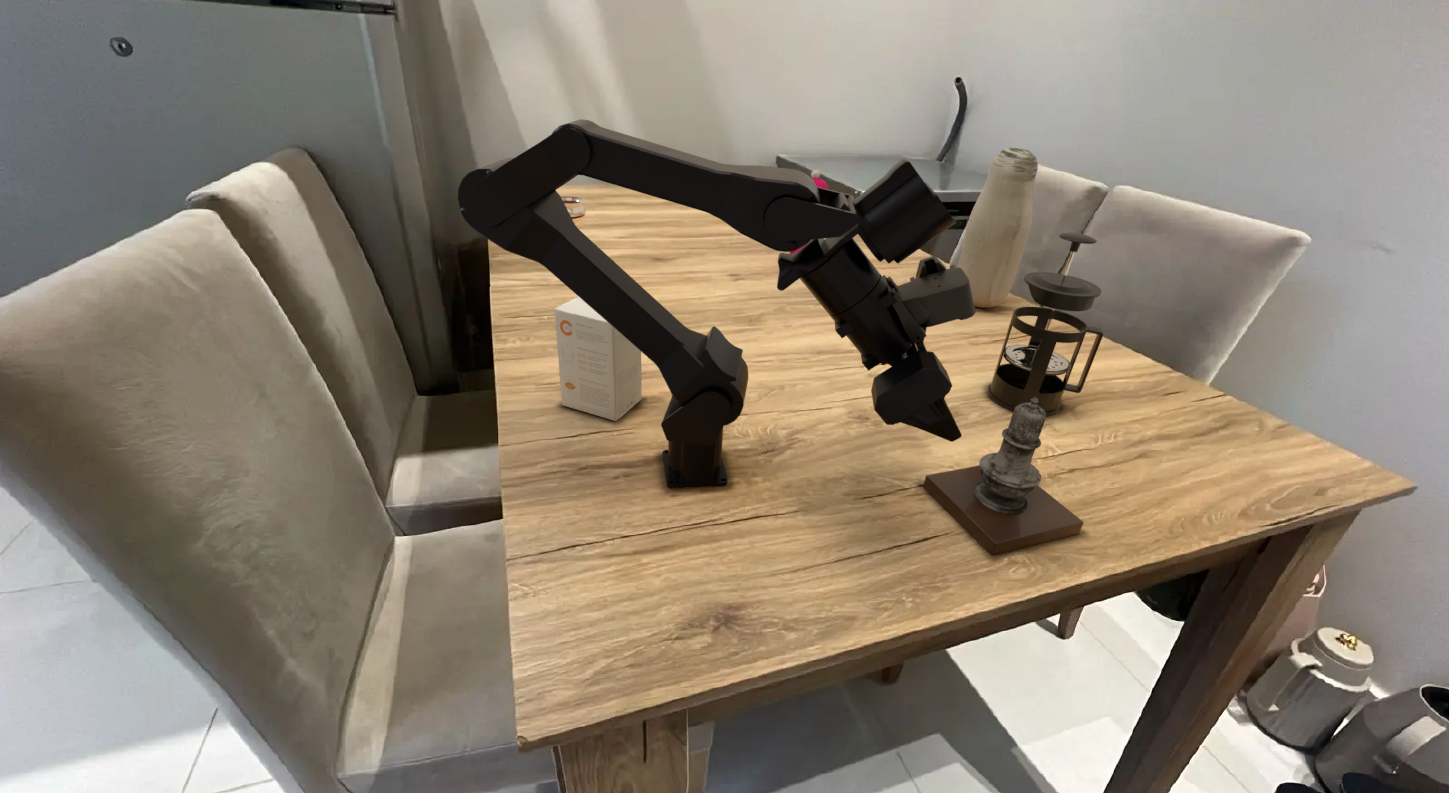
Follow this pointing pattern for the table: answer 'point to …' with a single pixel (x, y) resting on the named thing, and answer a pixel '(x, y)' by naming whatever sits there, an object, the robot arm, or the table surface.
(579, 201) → the wineglass
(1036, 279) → the french press
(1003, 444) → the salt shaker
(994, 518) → the walnut board
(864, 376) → the table surface
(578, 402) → the small box
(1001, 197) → the cream bottle
